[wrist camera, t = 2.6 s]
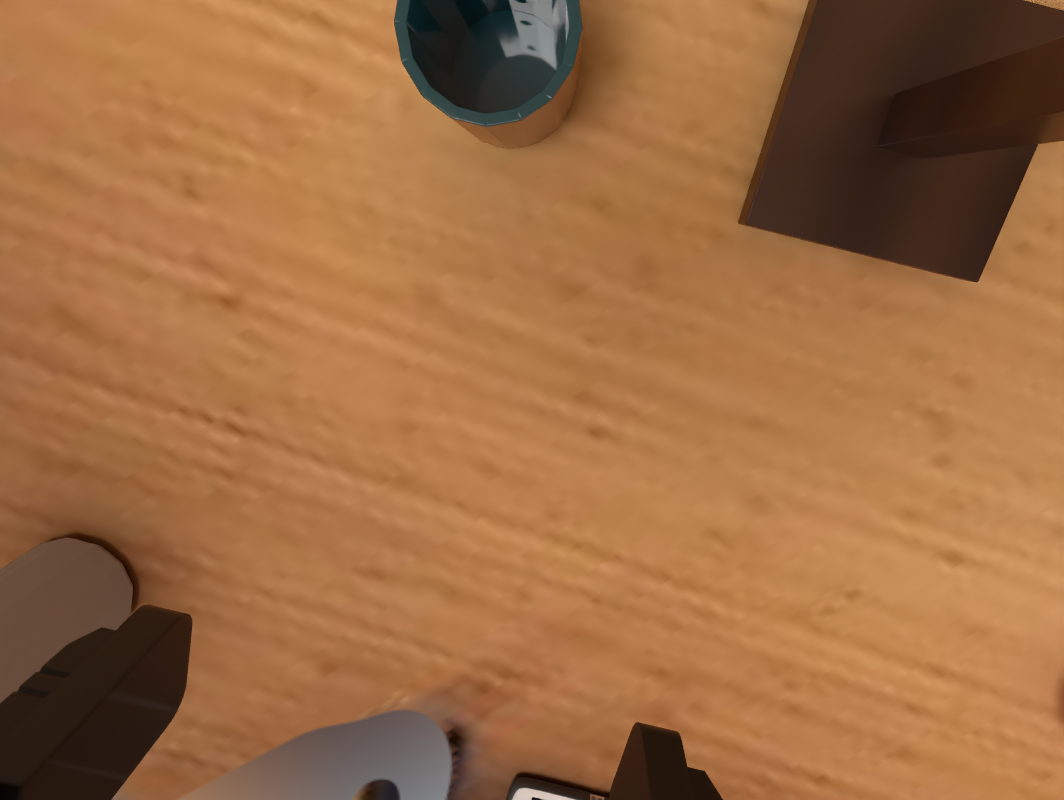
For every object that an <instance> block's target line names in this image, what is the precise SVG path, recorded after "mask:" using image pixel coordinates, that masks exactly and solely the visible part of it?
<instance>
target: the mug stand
mask: <svg viewBox="0 0 1064 800" xmlns="http://www.w3.org/2000/svg"><path fill="white" fill-rule="evenodd" d="M1057 141H1064V11H1062V10H1059V9H1055V8H1051V7H1047V6H1043V5H1039V4H1035V3H1032V2H1028V1H1024V0H809V3H808V6H807V9H806V12H805V16H804V19H803V22H802V25H801V28H800V31H799V34H798V37H797V41H796V44H795V47H794V50H793V53H792V56H791V59H790V62H789V66H788V69H787V72H786V75H785V78H784V81H783V84H782V87H781V90H780V94H779V97H778V100H777V103H776V106H775V109H774V112H773V115H772V119H771V122H770V125H769V128H768V131H767V134H766V137H765V140H764V144H763V147H762V150H761V153H760V156H759V159H758V162H757V165H756V169H755V172H754V175H753V178H752V181H751V184H750V187H749V190H748V194H747V197H746V200H745V203H744V206H743V209H742V212H741V215H740V219H739V222H738V223H739V224H741V225H745V226H749V227H753V228H757V229H761V230H765V231H769V232H773V233H777V234H781V235H785V236H789V237H793V238H797V239H801V240H805V241H809V242H813V243H817V244H821V245H825V246H829V247H833V248H837V249H841V250H845V251H849V252H853V253H857V254H861V255H865V256H869V257H873V258H877V259H881V260H885V261H889V262H893V263H897V264H901V265H905V266H909V267H913V268H917V269H921V270H925V271H929V272H933V273H937V274H941V275H945V276H949V277H953V278H957V279H961V280H966V281H972V282H978V281H979V279H980V276H981V274H982V272H983V269H984V267H985V265H986V263H987V260H988V258H989V256H990V253H991V251H992V249H993V246H994V244H995V242H996V240H997V237H998V235H999V233H1000V230H1001V228H1002V226H1003V224H1004V221H1005V219H1006V217H1007V214H1008V212H1009V210H1010V207H1011V205H1012V203H1013V201H1014V198H1015V196H1016V194H1017V191H1018V189H1019V187H1020V185H1021V182H1022V180H1023V178H1024V175H1025V173H1026V171H1027V168H1028V166H1029V164H1030V162H1031V159H1032V157H1033V155H1034V152H1035V150H1036V148H1037V146H1038V144H1042V143H1049V142H1057Z"/></svg>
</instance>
